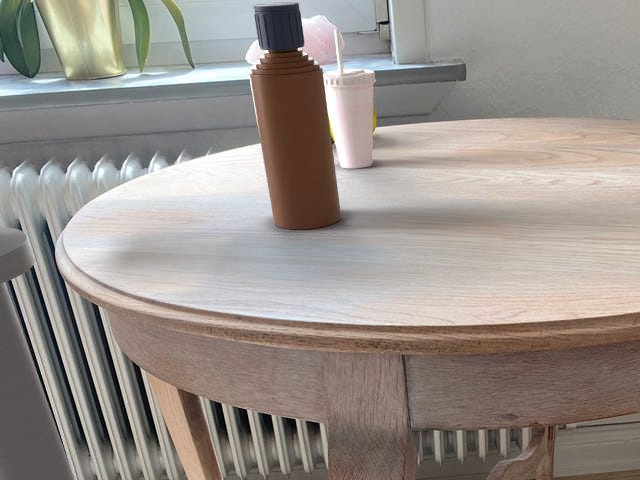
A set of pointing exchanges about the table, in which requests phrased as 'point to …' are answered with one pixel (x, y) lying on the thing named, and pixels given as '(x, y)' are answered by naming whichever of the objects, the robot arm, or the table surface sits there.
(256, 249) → the table surface
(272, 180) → the bottle
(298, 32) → the cap
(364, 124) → the smoothie
